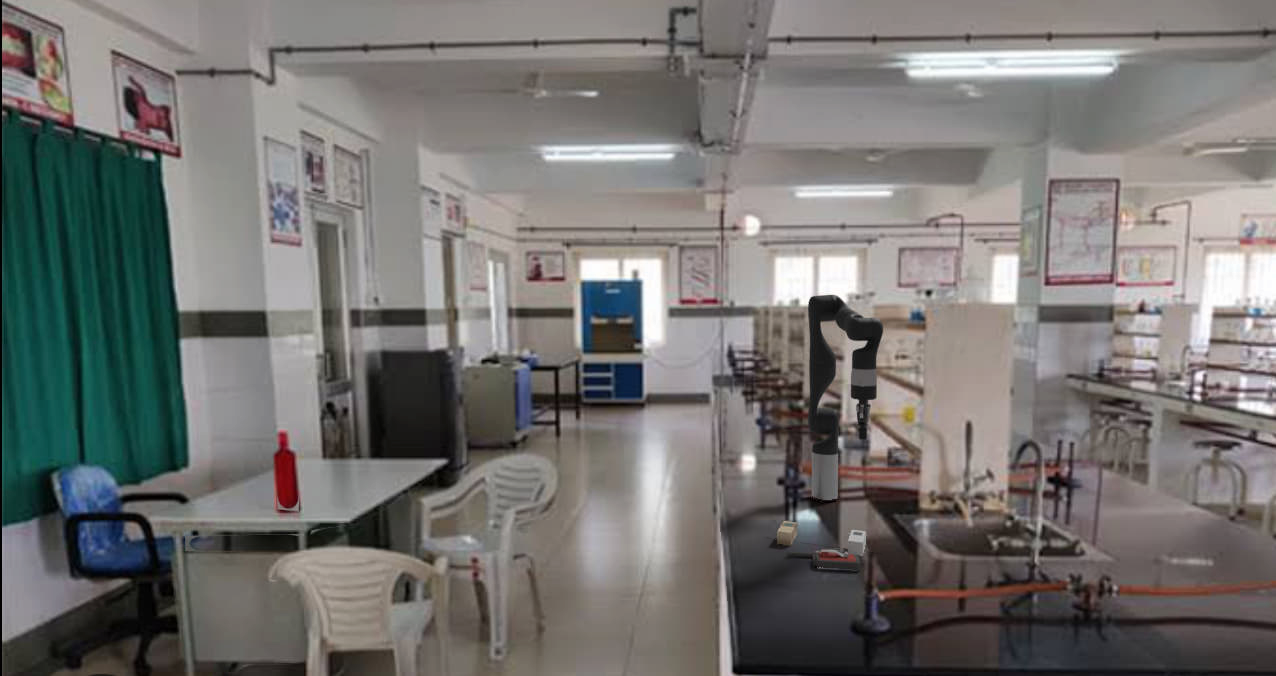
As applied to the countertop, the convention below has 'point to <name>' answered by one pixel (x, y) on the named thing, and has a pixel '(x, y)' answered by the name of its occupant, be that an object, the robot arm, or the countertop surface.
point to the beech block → (787, 533)
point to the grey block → (857, 542)
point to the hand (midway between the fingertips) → (862, 439)
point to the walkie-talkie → (832, 559)
